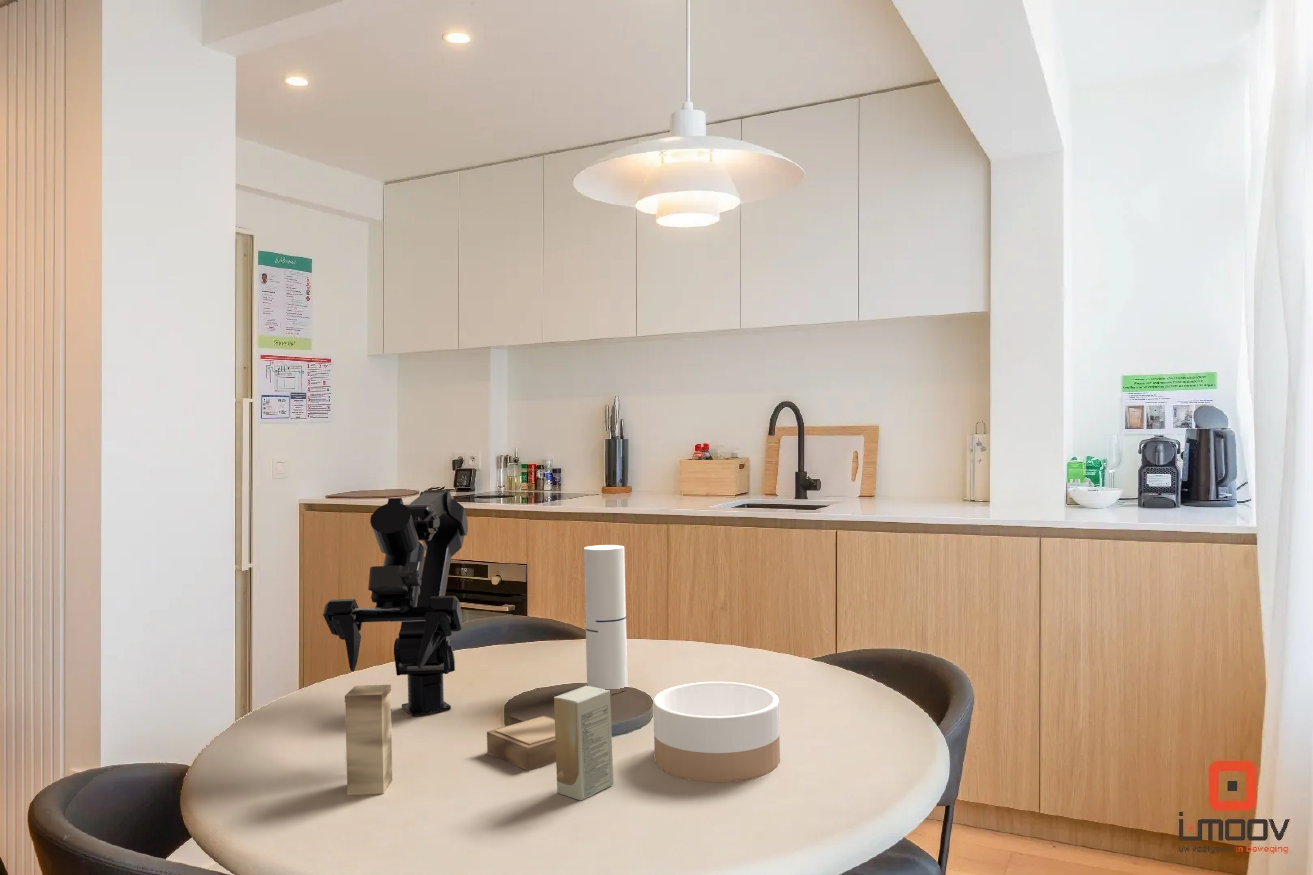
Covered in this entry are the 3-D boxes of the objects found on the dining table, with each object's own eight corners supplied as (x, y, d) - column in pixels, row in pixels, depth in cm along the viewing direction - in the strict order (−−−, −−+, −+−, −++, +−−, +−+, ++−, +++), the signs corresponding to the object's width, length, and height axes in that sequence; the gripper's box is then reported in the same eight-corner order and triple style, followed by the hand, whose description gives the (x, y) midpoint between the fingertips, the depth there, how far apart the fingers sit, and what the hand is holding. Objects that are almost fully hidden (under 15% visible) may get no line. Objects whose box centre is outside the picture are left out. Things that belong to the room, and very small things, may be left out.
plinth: (487, 752, 126) (486, 730, 126) (544, 735, 133) (543, 714, 133) (529, 770, 119) (528, 746, 119) (587, 751, 126) (586, 728, 126)
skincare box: (589, 777, 116) (587, 683, 116) (614, 785, 113) (612, 689, 113) (554, 793, 111) (551, 695, 111) (579, 802, 108) (577, 701, 108)
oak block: (357, 781, 117) (355, 685, 117) (392, 779, 117) (390, 684, 117) (346, 795, 112) (344, 695, 112) (383, 793, 112) (381, 694, 112)
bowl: (637, 748, 127) (635, 689, 127) (745, 731, 133) (744, 675, 133) (683, 791, 111) (681, 724, 111) (804, 770, 117) (802, 707, 117)
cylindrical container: (622, 695, 153) (618, 549, 154) (582, 693, 155) (578, 549, 155) (631, 683, 160) (628, 544, 161) (593, 682, 162) (590, 544, 162)
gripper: (324, 544, 127) (301, 640, 117) (456, 540, 128) (445, 635, 118) (343, 587, 136) (322, 681, 125) (467, 583, 137) (457, 676, 126)
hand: (385, 668), depth 123 cm, fingers open, 9 cm apart
